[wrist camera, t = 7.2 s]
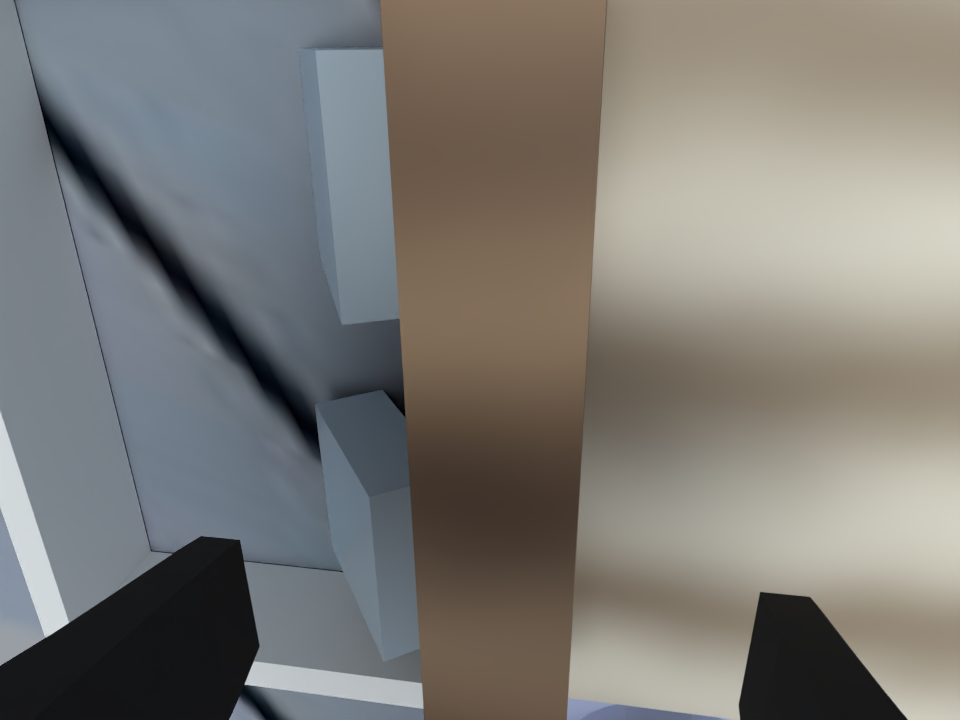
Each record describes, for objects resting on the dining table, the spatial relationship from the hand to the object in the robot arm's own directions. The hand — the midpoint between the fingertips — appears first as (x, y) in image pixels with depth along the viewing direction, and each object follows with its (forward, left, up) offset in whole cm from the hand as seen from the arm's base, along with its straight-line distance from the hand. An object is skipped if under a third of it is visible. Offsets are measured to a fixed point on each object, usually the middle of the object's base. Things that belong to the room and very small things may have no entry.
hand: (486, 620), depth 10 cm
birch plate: (0, -5, -10) cm, 11 cm away
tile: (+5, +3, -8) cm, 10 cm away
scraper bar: (0, 0, -7) cm, 7 cm away
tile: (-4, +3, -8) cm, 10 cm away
